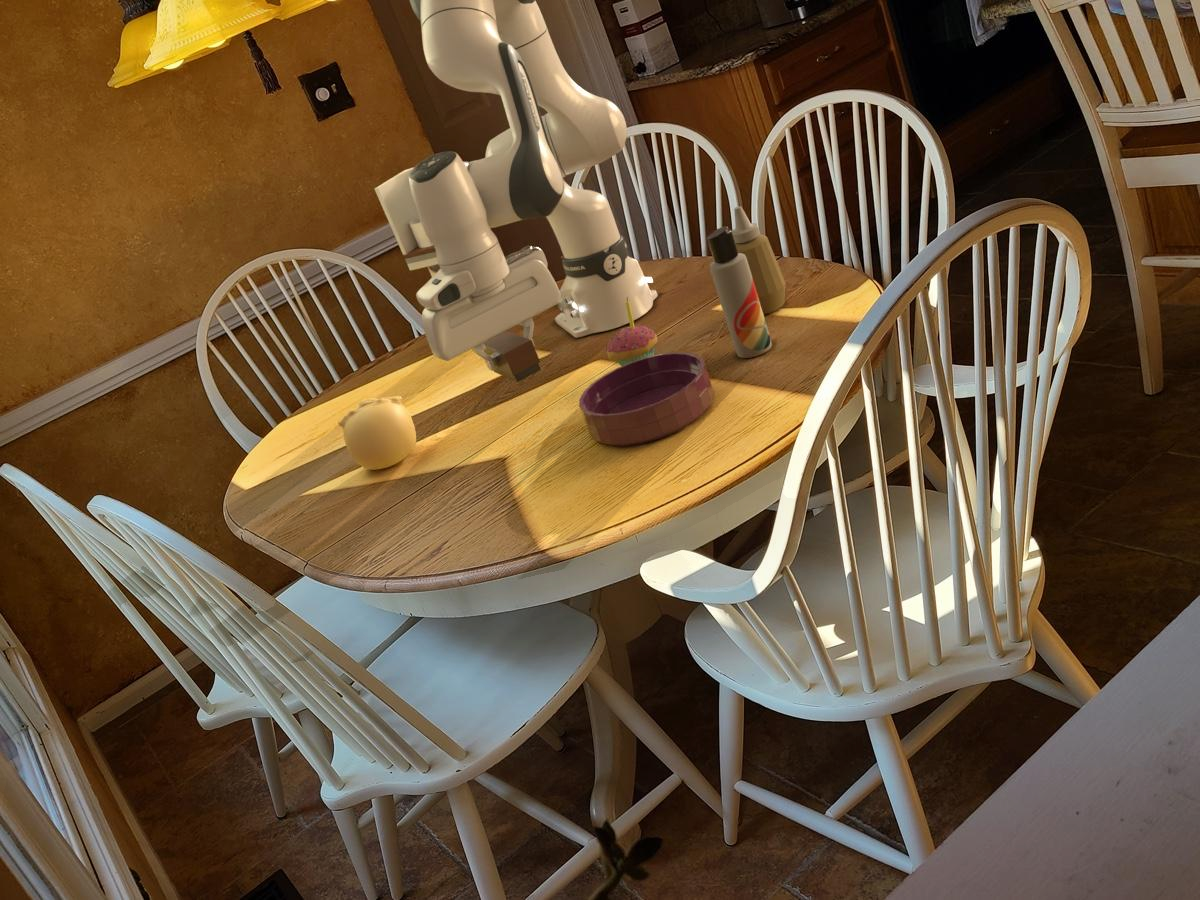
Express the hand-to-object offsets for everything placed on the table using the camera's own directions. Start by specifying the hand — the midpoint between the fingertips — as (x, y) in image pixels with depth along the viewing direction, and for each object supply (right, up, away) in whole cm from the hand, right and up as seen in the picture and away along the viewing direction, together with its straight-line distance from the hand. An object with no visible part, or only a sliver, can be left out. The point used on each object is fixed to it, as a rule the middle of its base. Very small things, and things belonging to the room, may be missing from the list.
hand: (512, 359), depth 160 cm
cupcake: (+19, 0, +22) cm, 29 cm away
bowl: (+20, -8, +4) cm, 22 cm away
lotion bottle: (+37, +2, +13) cm, 39 cm away
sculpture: (-22, -15, +24) cm, 36 cm away
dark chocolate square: (+1, -2, +1) cm, 2 cm away
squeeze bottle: (+41, +11, +27) cm, 50 cm away
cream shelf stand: (-13, +11, +71) cm, 73 cm away
